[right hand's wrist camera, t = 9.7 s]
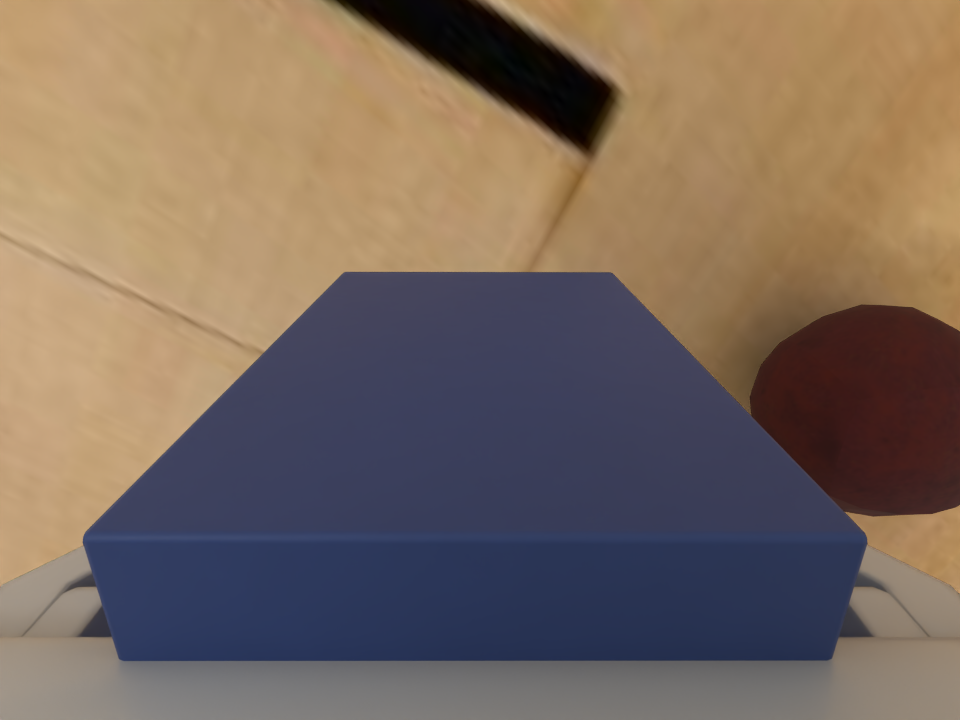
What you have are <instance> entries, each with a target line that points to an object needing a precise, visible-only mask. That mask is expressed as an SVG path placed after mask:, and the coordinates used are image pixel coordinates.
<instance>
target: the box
mask: <svg viewBox="0 0 960 720" xmlns="http://www.w3.org/2000/svg"><path fill="white" fill-rule="evenodd" d="M83 545H84V548H85V551H86V555H87V558H88V561H89V564H90V568H91V571H92V574H93V577H94V581H95V584H96V587H97V590H98V593H99V597H100V600H101V603H102V606H103V610H104V613H105V616H106V619H107V623H108V626H109V629H110V632H111V635H112V639H113V642H114V645H115V648H116V652H117V655H118V658H119V659H120V660H122V661H827V660H830V659H832V657H833V654H834V651H835V647H836V644H837V641H838V638H839V634H840V631H841V628H842V625H843V621H844V618H845V615H846V612H847V608H848V605H849V602H850V599H851V595H852V592H853V589H854V586H855V582H856V579H857V576H858V572H859V569H860V566H861V563H862V559H863V556H864V553H865V550H866V546H867V537H866V535H865V533H864V532H863V531H862V530H861V529H860V528H859V527H858V526H857V524H856V523H855V522H854V521H853V520H852V519H851V518H850V517H849V516H848V515H847V514H846V513H845V512H844V511H843V510H842V509H841V508H840V507H839V506H838V505H837V504H836V503H835V502H834V501H833V500H832V499H831V498H830V497H829V496H828V495H827V494H826V493H825V492H824V490H823V489H822V488H821V487H820V486H819V485H818V484H817V483H816V482H815V481H814V480H813V479H812V478H811V477H810V476H809V475H808V474H807V473H806V472H805V471H804V470H803V469H802V468H801V467H800V466H799V465H798V464H797V463H796V462H795V461H794V460H793V459H792V458H791V457H790V455H789V454H788V453H787V452H786V451H785V450H784V449H783V448H782V447H781V446H780V445H779V444H778V443H777V442H776V441H775V440H774V439H773V438H772V437H771V436H770V435H769V434H768V433H767V432H766V431H765V430H764V429H763V428H762V427H761V426H760V425H759V424H758V423H757V422H756V420H755V419H754V418H753V417H752V416H751V415H750V414H749V413H748V412H747V411H746V410H745V409H744V408H743V407H742V406H741V405H740V404H739V403H738V402H737V401H736V400H735V399H734V398H733V397H732V396H731V395H730V394H729V393H728V392H727V391H726V390H725V389H724V388H723V386H722V385H721V384H720V383H719V382H718V381H717V380H716V379H715V378H714V377H713V376H712V375H711V374H710V373H709V372H708V371H707V370H706V369H705V368H704V367H703V366H702V365H701V364H700V363H699V362H698V361H697V360H696V359H695V358H694V357H693V356H692V355H691V354H690V353H689V351H688V350H687V349H686V348H685V347H684V346H683V345H682V344H681V343H680V342H679V341H678V340H677V339H676V338H675V337H674V336H673V335H672V334H671V333H670V332H669V331H668V330H667V329H666V328H665V327H664V326H663V325H662V324H661V323H660V322H659V321H658V320H657V319H656V318H655V316H654V315H653V314H652V313H651V312H650V311H649V310H648V309H647V308H646V307H645V306H644V305H643V304H642V303H641V302H640V301H639V300H638V299H637V298H636V297H635V296H634V295H633V294H632V293H631V292H630V291H629V290H628V289H627V288H626V287H625V286H624V285H623V284H622V283H621V281H620V280H619V279H618V278H617V277H616V276H615V275H614V274H613V273H610V272H345V273H343V274H342V275H341V276H340V277H339V278H338V279H337V280H336V281H335V282H334V283H333V284H332V285H331V286H330V287H329V288H328V289H327V290H326V291H325V292H324V293H323V294H322V295H321V296H320V297H319V298H318V299H317V300H316V301H315V302H314V303H313V304H312V305H311V306H310V307H309V308H308V309H307V310H306V311H305V312H304V313H303V314H302V315H301V316H300V317H299V318H298V319H297V320H296V321H295V322H294V323H293V324H292V325H291V326H290V327H289V328H288V329H287V330H286V331H285V332H284V333H283V334H282V335H281V336H280V337H279V338H278V339H277V340H276V341H275V342H274V343H273V344H272V345H271V346H270V347H269V348H268V349H267V350H266V351H265V352H264V353H263V354H262V355H261V356H260V357H259V358H258V359H257V360H256V361H255V362H254V363H253V364H252V365H251V366H250V367H249V368H248V369H247V370H246V371H245V372H244V373H243V374H242V375H241V376H240V377H239V378H238V379H237V380H236V381H235V382H234V383H233V384H232V385H231V386H230V387H229V388H228V389H227V390H226V391H225V392H224V393H223V394H222V395H221V396H220V397H219V398H218V399H217V400H216V401H215V402H214V403H213V404H212V405H211V406H210V407H209V409H208V410H207V411H206V412H205V413H204V414H203V415H202V416H201V417H200V418H199V419H198V420H197V421H196V422H195V423H194V424H193V425H192V426H191V427H190V428H189V429H188V430H187V431H186V432H185V433H184V434H183V435H182V436H181V437H180V438H179V439H178V440H177V441H176V442H175V443H174V444H173V445H172V446H171V447H170V448H169V449H168V450H167V451H166V452H165V453H164V454H163V455H162V456H161V457H160V458H159V459H158V460H157V461H156V462H155V463H154V464H153V465H152V466H151V467H150V468H149V469H148V470H147V471H146V472H145V473H144V474H143V475H142V476H141V477H140V478H139V479H138V480H137V481H136V482H135V483H134V484H133V485H132V486H131V487H130V488H129V489H128V490H127V491H126V492H125V493H124V494H123V495H122V496H121V497H120V498H119V499H118V500H117V501H116V502H115V503H114V504H113V505H112V506H111V507H110V508H109V509H108V510H107V511H106V512H105V513H104V514H103V515H102V516H101V517H100V518H99V519H98V520H97V521H96V522H95V523H94V524H93V525H92V526H91V527H90V528H89V529H88V530H87V531H86V532H85V534H84V537H83Z"/></svg>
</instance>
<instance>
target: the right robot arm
mask: <svg viewBox="0 0 960 720" xmlns="http://www.w3.org/2000/svg"><path fill="white" fill-rule="evenodd" d="M0 720H960V594H959V593H958V592H957V591H956V590H955V589H954V588H953V587H952V586H951V585H949V584H947V583H945V582H943V581H941V580H939V579H937V578H934V577H932V576H930V575H928V574H926V573H924V572H922V571H920V570H918V569H916V568H914V567H912V566H910V565H908V564H906V563H904V562H902V561H900V560H898V559H896V558H893V557H891V556H889V555H887V554H885V553H883V552H881V551H879V550H877V549H875V548H873V547H871V546H869V545H867V546H866V550H865V553H864V556H863V559H862V563H861V566H860V569H859V572H858V576H857V579H856V582H855V586H854V589H853V592H852V595H851V599H850V602H849V605H848V608H847V612H846V615H845V618H844V621H843V625H842V628H841V631H840V634H839V638H838V641H837V644H836V647H835V651H834V654H833V657H832V659H830V660H827V661H122V660H120V659H119V658H118V655H117V652H116V648H115V645H114V642H113V639H112V635H111V632H110V629H109V626H108V623H107V619H106V616H105V613H104V610H103V606H102V603H101V600H100V597H99V593H98V590H97V587H96V584H95V581H94V577H93V574H92V571H91V568H90V564H89V561H88V558H87V555H86V551H85V548H84V546H82V547H80V548H78V549H75V550H73V551H71V552H69V553H67V554H65V555H63V556H61V557H59V558H57V559H55V560H53V561H51V562H48V563H46V564H44V565H42V566H40V567H38V568H36V569H34V570H32V571H30V572H28V573H26V574H24V575H22V576H19V577H17V578H15V579H13V580H11V581H9V582H7V583H5V584H3V585H2V586H1V587H0Z"/></svg>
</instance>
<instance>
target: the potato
mask: <svg viewBox="0 0 960 720" xmlns="http://www.w3.org/2000/svg"><path fill="white" fill-rule="evenodd" d="M750 404H751V414H752V417H753V418H754V419H755V420H756V422H757V423H758V424H759V425H760V426H761V427H762V428H763V429H764V430H765V431H766V432H767V433H768V434H769V435H770V436H771V437H772V438H773V439H774V440H775V441H776V442H777V443H778V444H779V445H780V446H781V447H782V448H783V449H784V450H785V451H786V452H787V453H788V454H789V455H790V457H791V458H792V459H793V460H794V461H795V462H796V463H797V464H798V465H799V466H800V467H801V468H802V469H803V470H804V471H805V472H806V473H807V474H808V475H809V476H810V477H811V478H812V479H813V480H814V481H815V482H816V483H817V484H818V485H819V486H820V487H821V488H822V489H823V490H824V492H825V493H826V494H827V495H828V496H829V497H830V498H831V499H832V500H833V501H834V502H835V503H836V504H837V505H838V506H839V507H840V508H841V509H842V510H843V511H845V512H851V513H856V514H862V515H868V516H892V515H914V514H933V513H936V512H940V511H944V510H947V509H951V508H955V507H957V506H959V505H960V331H958V330H957V329H955V328H953V327H951V326H949V325H947V324H946V323H944V322H942V321H940V320H938V319H936V318H934V317H932V316H930V315H928V314H926V313H924V312H921V311H919V310H917V309H915V308H913V307H899V306H884V305H859V306H856V307H853V308H849V309H846V310H843V311H840V312H836V313H833V314H830V315H826V316H823V317H821V318H820V319H818V320H816V321H814V322H813V323H811V324H809V325H808V326H806V327H805V328H803V329H801V330H800V331H798V332H797V333H795V334H793V335H792V336H790V337H789V338H787V339H785V340H784V341H782V342H780V343H779V344H778V346H777V347H776V348H775V349H774V350H773V351H772V353H771V354H770V355H769V356H768V357H767V358H766V360H765V361H764V362H763V363H762V364H761V366H760V369H759V372H758V375H757V377H756V380H755V383H754V386H753V388H752V392H751V395H750Z"/></svg>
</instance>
